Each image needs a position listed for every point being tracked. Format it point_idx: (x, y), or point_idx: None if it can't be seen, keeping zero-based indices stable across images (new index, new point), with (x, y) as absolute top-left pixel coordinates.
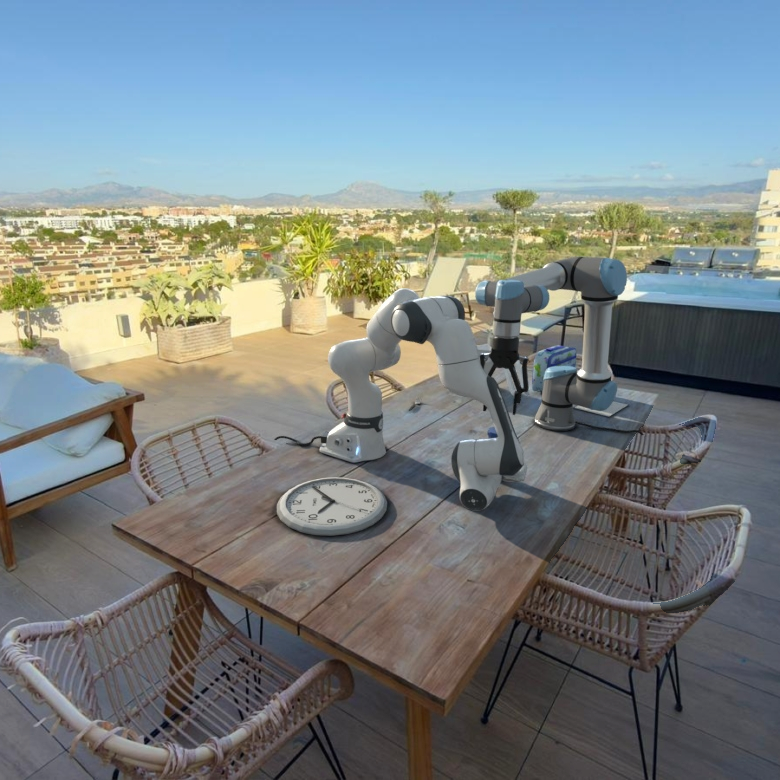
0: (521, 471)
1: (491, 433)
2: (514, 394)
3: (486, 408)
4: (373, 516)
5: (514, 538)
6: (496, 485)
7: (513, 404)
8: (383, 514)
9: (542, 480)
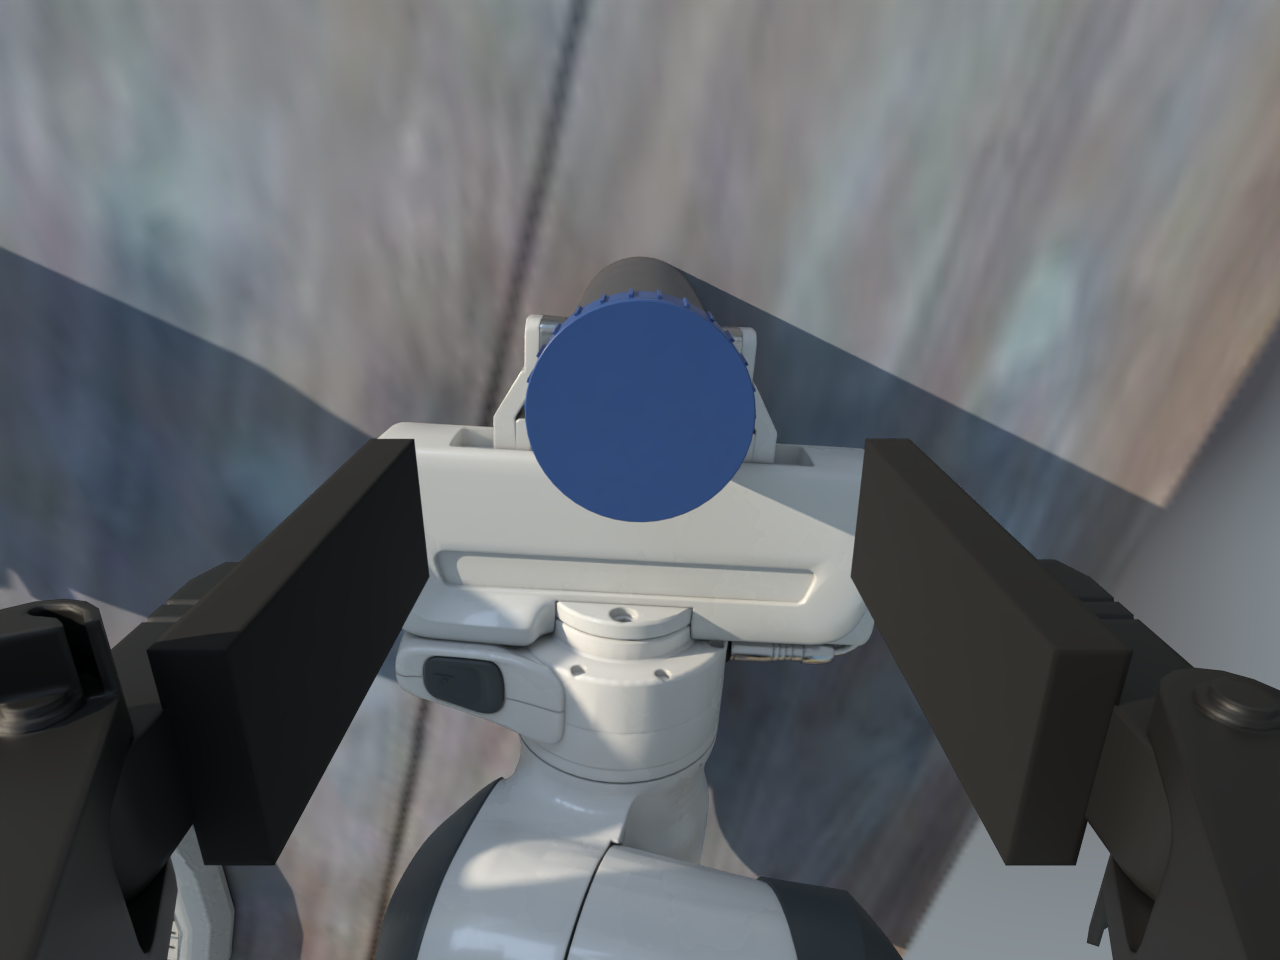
0: (858, 620)
1: (582, 499)
2: (999, 847)
3: (414, 500)
4: (204, 953)
5: (801, 872)
6: (706, 815)
7: (907, 675)
8: (228, 897)
9: (975, 260)
